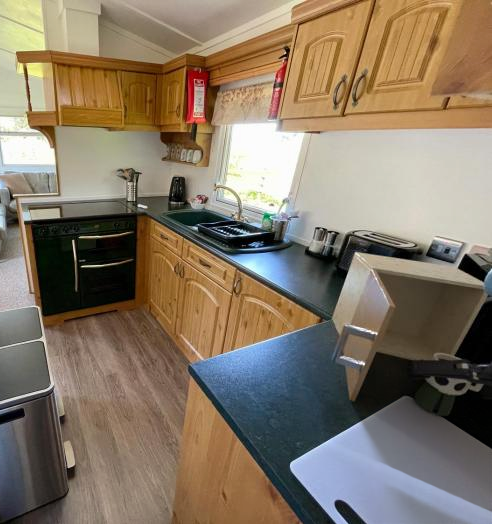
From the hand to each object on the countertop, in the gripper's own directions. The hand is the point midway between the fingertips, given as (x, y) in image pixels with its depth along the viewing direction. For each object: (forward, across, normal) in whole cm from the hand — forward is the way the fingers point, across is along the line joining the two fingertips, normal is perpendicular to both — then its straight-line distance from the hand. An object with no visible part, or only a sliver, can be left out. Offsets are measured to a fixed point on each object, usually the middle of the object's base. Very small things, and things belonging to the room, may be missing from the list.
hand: (445, 382), depth 66 cm
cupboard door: (+11, +18, 0) cm, 21 cm away
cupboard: (+26, 0, -15) cm, 30 cm away
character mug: (+6, 0, +5) cm, 8 cm away
